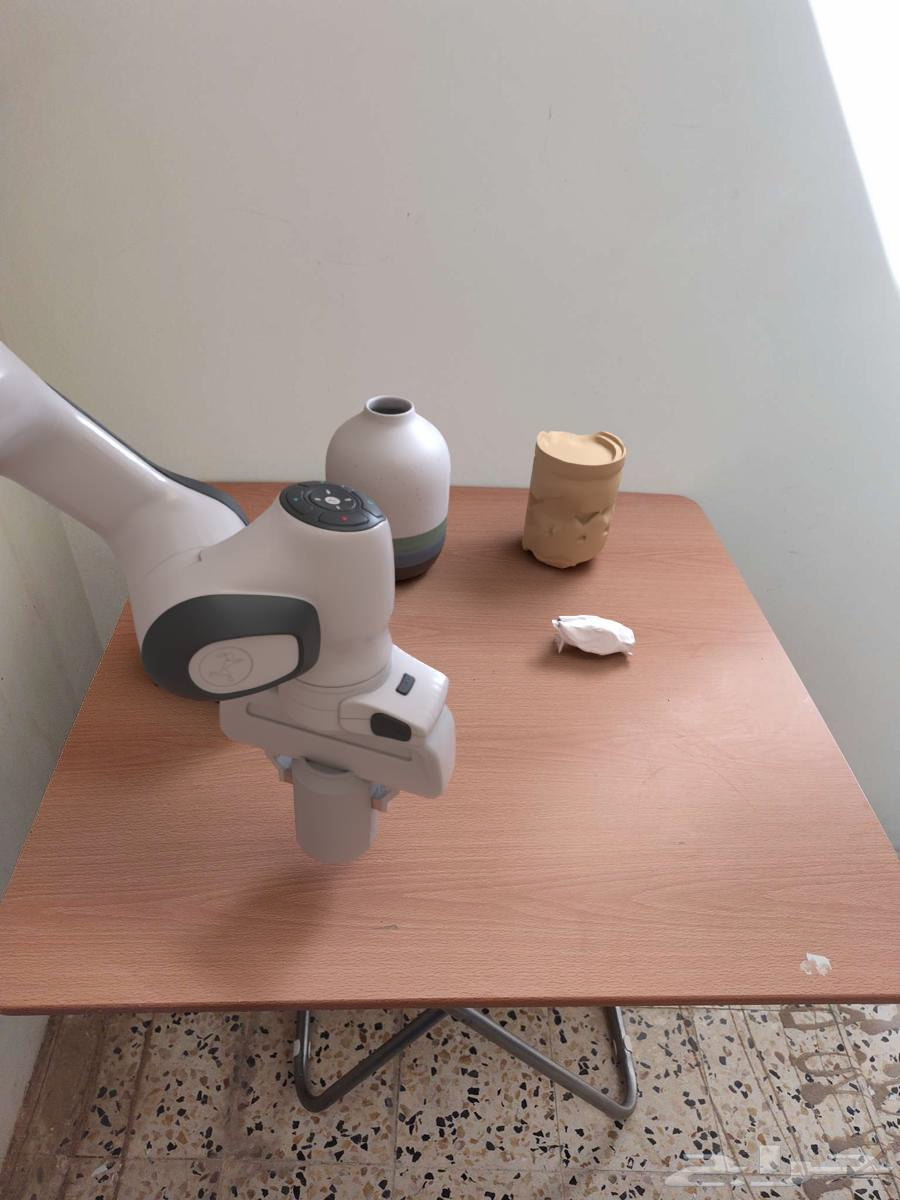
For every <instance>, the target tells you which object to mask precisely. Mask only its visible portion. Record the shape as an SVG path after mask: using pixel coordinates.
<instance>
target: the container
mask: <svg viewBox="0 0 900 1200" xmlns="http://www.w3.org/2000/svg"><path fill="white" fill-rule="evenodd" d="M626 458H627V448H626V446H625V443H624V442H623V441H622V439H620V437H619V436H617V435H615V434H613V433H611V432H609V431H605V430H604V431H603V430H602V431H601V430H600V431H597V432H594V433H591V434H582V435H580V434H576V433H572V432H568V431H560V430H559V431H556V430H549V431H548V432H546V431H545V430H542V431H540V432H539V433H538V434H537V436H536V440H535V447H534V456H533V462H532V470H531V474H530V475H531V476H530V483H529V491H528V496H527V497H528V498H527V502H526V503H527V505H526V512H525V519H524V526H523V535H522V539H521V546H522V549H523V550H524V551H531V552H532V554H533V556H534V557H535V558H536V560H537V561H539V562H542V563H544V564H546V565H548V566H552V567H555V568H559V569H567V568H569V567H576V565H577V564H580V563H583V562H587V561H590V560H591V559H593V558H594V557H596V556H597V555H598V554H599V553H600V552H601V551H602V550H603V549H604V547H605V545H606V541H607V540H608V536H609V533H610V529H611V525H612V521H613V516H614V513H615V509H616V503H617V501H616V500H617V498H618V495H619V494H618V493H619V489H620V485H621V480H622V477H623V476H622V475H623V471H622V469H623V468H624V466H625V462H626Z"/></svg>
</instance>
